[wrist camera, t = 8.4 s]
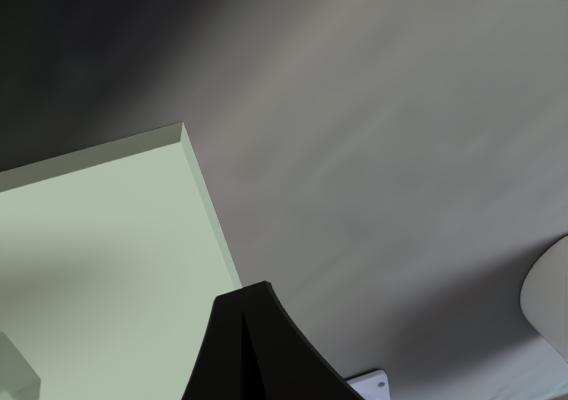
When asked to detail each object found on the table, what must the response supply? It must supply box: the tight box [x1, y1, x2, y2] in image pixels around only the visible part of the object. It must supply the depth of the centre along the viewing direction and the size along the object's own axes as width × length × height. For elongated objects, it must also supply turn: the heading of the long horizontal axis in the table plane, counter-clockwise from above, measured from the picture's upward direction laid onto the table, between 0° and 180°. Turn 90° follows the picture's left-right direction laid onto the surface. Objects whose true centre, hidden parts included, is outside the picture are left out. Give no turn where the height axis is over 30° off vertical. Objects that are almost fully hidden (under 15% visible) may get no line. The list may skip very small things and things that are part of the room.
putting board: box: [0, 122, 242, 400], centre depth 17 cm, size 14×20×3 cm
